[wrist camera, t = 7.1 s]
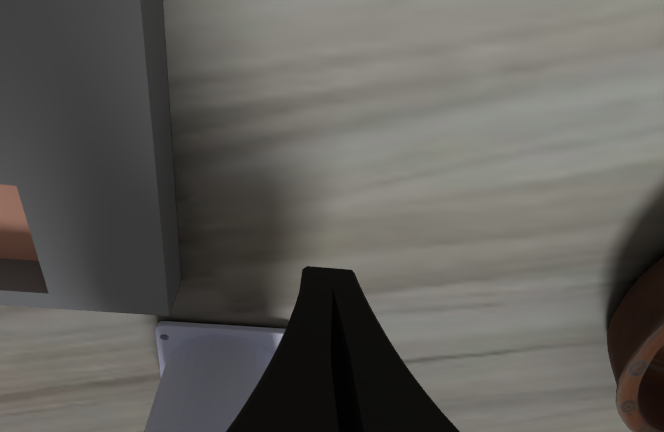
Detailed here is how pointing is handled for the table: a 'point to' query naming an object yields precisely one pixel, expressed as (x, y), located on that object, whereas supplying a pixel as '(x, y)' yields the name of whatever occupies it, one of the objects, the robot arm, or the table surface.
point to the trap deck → (86, 157)
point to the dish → (640, 352)
